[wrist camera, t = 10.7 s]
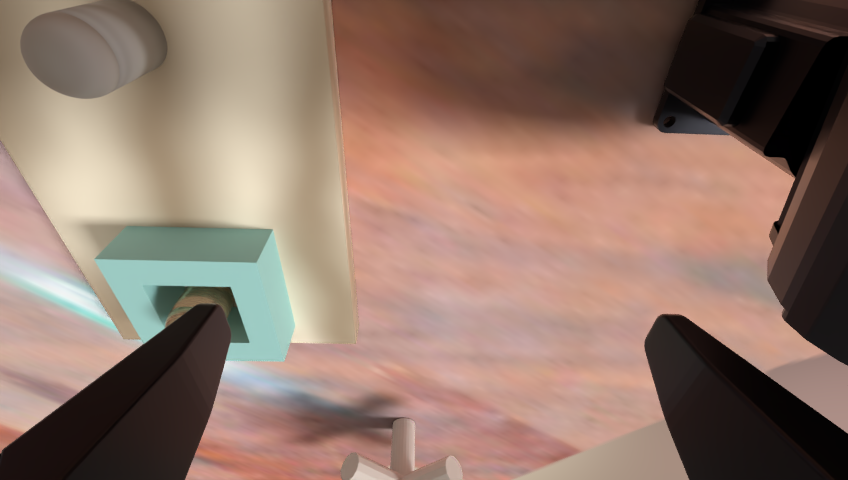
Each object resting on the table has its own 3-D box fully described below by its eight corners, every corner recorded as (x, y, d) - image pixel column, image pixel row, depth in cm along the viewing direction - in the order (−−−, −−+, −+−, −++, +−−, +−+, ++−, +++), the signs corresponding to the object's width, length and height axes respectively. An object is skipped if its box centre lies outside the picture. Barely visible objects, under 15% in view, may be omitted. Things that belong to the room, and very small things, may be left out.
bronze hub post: (236, 264, 21) (202, 327, 18) (246, 297, 23) (216, 361, 19) (189, 263, 21) (146, 326, 18) (202, 296, 23) (165, 360, 19)
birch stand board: (319, -136, 13) (265, -170, 9) (359, 325, 26) (345, 407, 22) (-133, -160, 13) (-439, -208, 8) (137, 320, 26) (77, 402, 22)
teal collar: (272, 229, 20) (256, 262, 18) (295, 325, 24) (284, 361, 22) (126, 226, 20) (93, 259, 18) (175, 323, 24) (152, 359, 22)
